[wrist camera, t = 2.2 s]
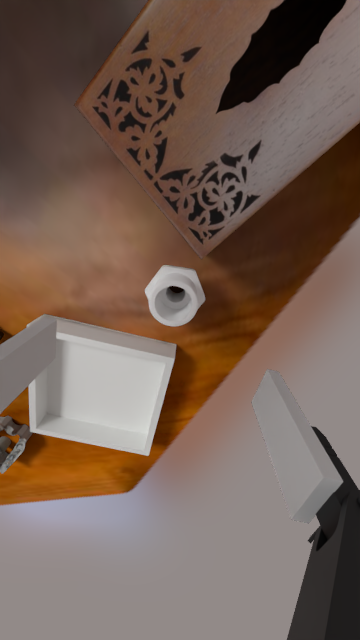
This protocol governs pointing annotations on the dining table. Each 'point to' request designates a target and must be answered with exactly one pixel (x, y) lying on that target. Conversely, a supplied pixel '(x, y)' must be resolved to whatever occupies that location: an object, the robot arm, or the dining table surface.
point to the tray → (101, 387)
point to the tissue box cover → (226, 103)
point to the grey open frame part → (3, 460)
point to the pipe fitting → (174, 295)
